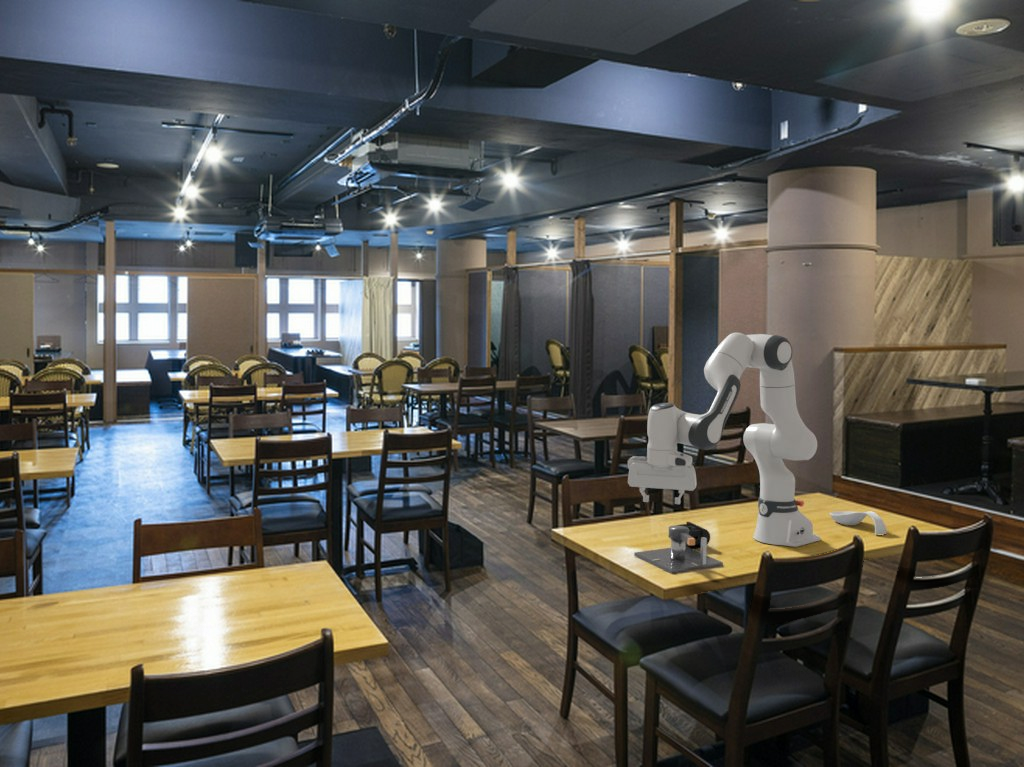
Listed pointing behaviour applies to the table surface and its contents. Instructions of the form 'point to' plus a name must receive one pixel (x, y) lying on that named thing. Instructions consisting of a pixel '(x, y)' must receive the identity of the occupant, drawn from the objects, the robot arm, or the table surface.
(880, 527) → the spoon rest
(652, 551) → the mount base
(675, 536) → the collar
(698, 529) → the end cap
